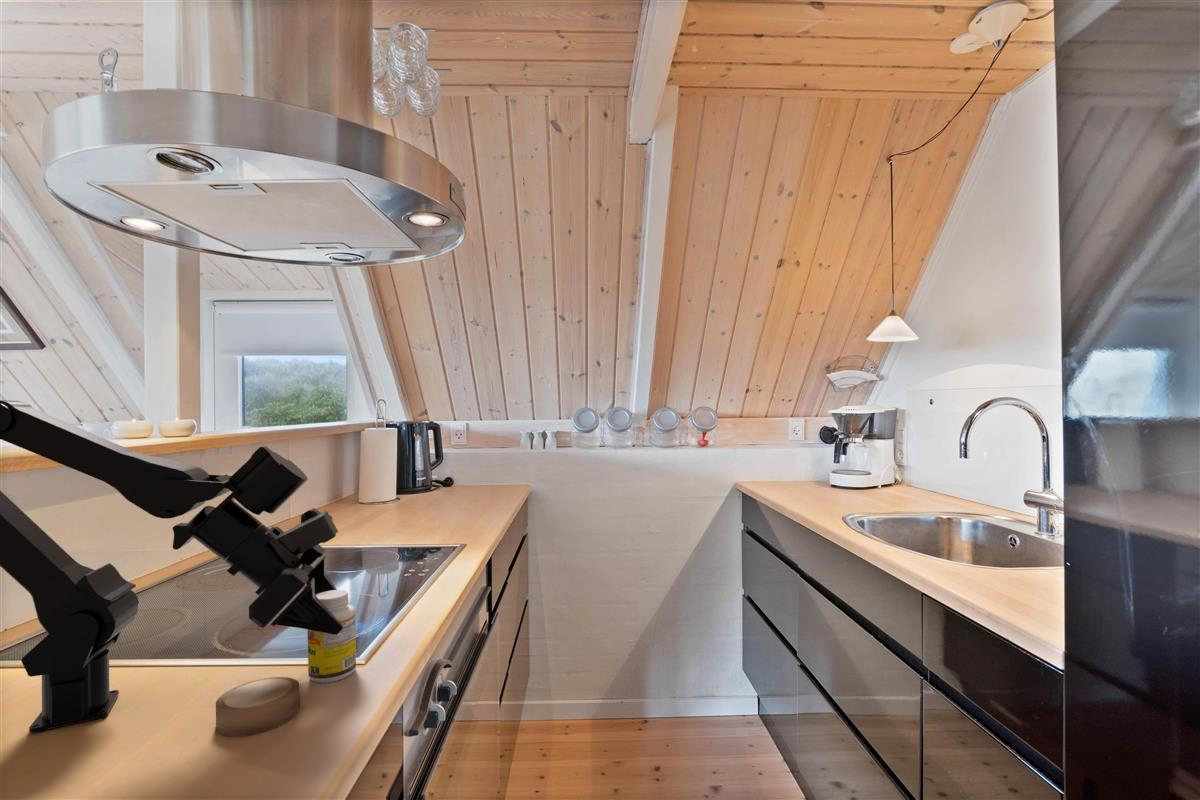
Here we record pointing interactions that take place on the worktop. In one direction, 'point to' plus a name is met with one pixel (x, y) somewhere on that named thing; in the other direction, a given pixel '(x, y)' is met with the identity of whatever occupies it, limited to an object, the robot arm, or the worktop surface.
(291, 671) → the worktop surface
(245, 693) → the walnut stand
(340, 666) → the supplement bottle
